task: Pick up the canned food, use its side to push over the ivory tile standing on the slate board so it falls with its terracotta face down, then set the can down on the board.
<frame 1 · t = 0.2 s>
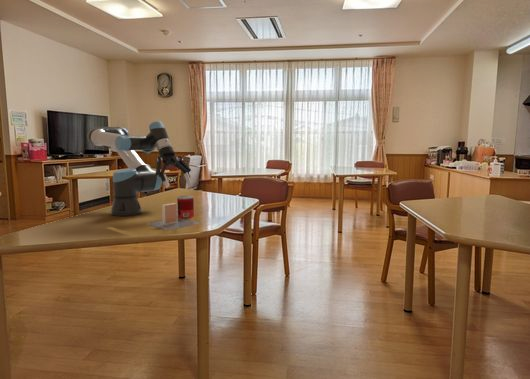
hand: (179, 185, 186), 16 cm above the table, tool tilted 30°, fingers open, 13 cm apart
tile: (170, 223, 168), point 1 cm above the table, touching slate board
slate board: (173, 226, 169), on the table
canned food: (185, 218, 185), on the table
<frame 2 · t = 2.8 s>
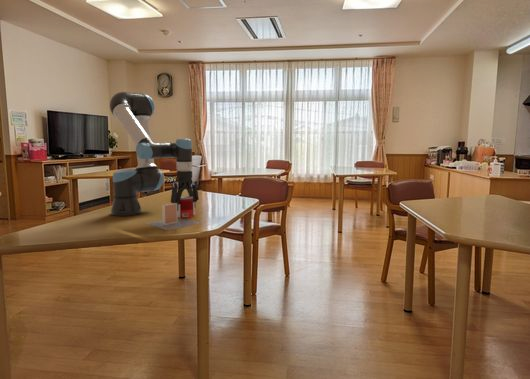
hand: (185, 215, 184), 1 cm above the table, tool pointing down, fingers open, 8 cm apart
canned food: (185, 218, 185), on the table, touching gripper
everything else where it was.
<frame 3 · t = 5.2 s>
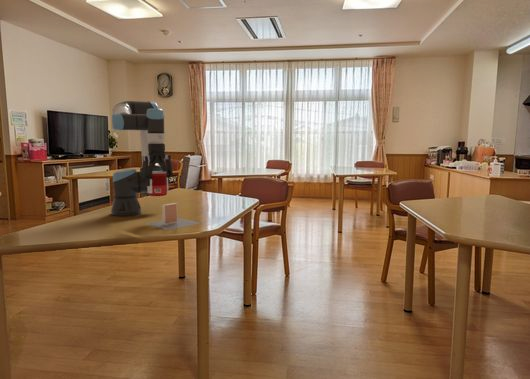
hand: (158, 192, 172), 15 cm above the table, tool pointing down, fingers closed on canned food, 8 cm apart
canned food: (158, 195, 172), point 13 cm above the table, touching gripper
everything else where it was.
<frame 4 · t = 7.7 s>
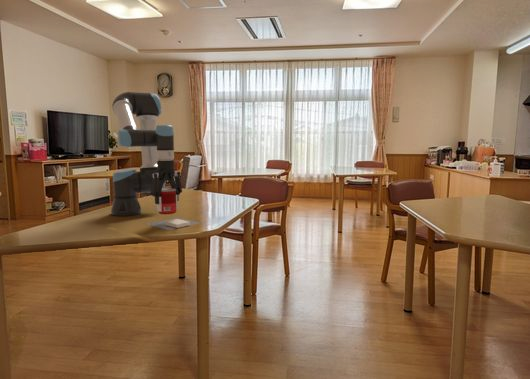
hand: (167, 209, 168), 7 cm above the table, tool pointing down, fingers closed on canned food, 8 cm apart
tile: (171, 221, 168), point 2 cm above the table, tilted 90°, touching slate board
canned food: (167, 213, 169), point 6 cm above the table, touching gripper
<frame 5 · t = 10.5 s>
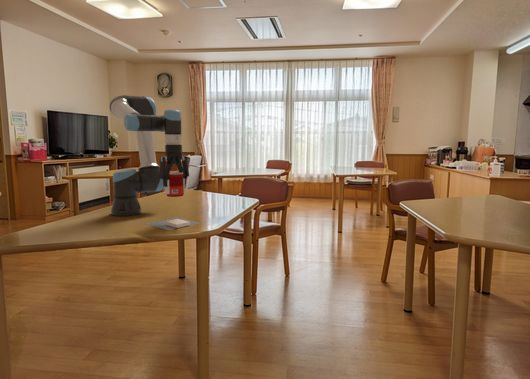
hand: (175, 192, 174), 14 cm above the table, tool pointing down, fingers closed on canned food, 8 cm apart
canned food: (175, 196, 174), point 13 cm above the table, touching gripper
everything else where it was.
when the fingers open (4 cm above the table, at t = 12.7 s): canned food drops 1 cm, resting on slate board.
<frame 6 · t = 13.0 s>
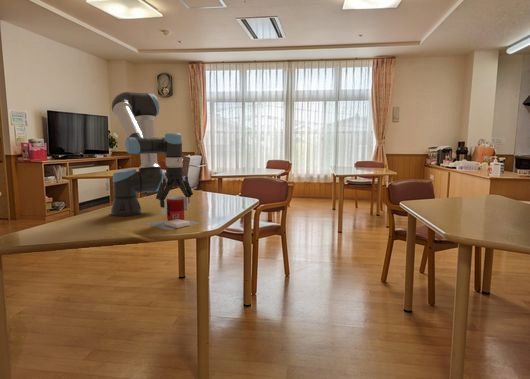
hand: (175, 212, 175), 5 cm above the table, tool pointing down, fingers open, 12 cm apart
canned food: (175, 220, 175), point 1 cm above the table, touching slate board
everything else where it was.
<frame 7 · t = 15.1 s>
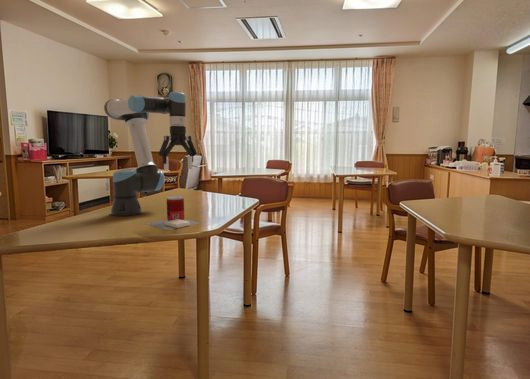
hand: (178, 169, 180), 25 cm above the table, tool pointing down, fingers open, 13 cm apart
nothing on the table moved.
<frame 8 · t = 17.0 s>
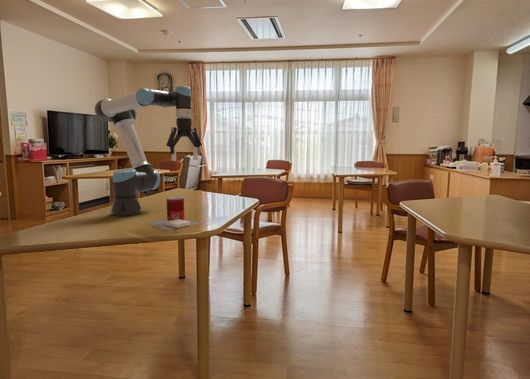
hand: (185, 160, 189), 29 cm above the table, tool pointing down, fingers open, 13 cm apart
nothing on the table moved.
at the end: tile tilted 90°; canned food inside the target area (7.1 cm from its centre), point 1.0 cm above the table; the gripper is holding nothing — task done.
